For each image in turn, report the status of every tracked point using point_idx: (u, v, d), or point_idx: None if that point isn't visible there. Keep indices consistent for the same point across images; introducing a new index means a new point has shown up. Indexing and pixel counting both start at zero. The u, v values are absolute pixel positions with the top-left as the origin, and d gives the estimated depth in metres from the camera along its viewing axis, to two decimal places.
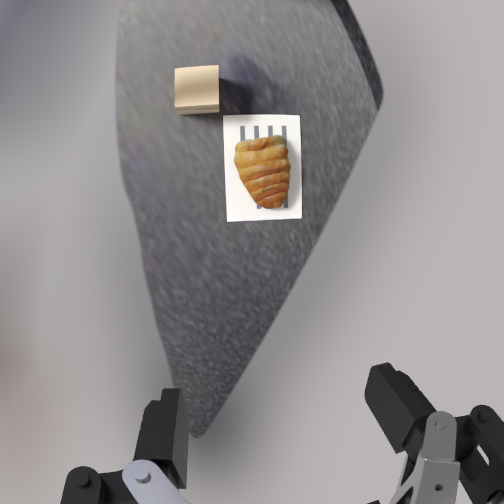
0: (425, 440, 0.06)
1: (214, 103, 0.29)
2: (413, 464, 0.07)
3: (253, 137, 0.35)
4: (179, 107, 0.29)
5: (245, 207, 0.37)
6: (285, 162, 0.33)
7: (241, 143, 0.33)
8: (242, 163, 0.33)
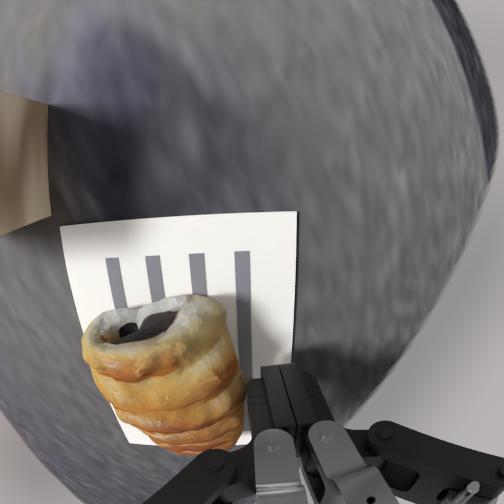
0: (320, 459, 0.06)
1: None
2: (316, 476, 0.07)
3: (147, 292, 0.12)
4: None
5: None
6: (225, 405, 0.10)
7: (86, 346, 0.09)
8: None
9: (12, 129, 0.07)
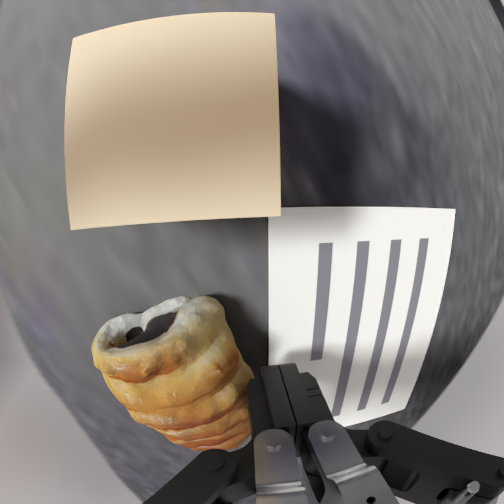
0: (320, 459, 0.06)
1: (258, 211, 0.06)
2: (316, 476, 0.07)
3: (352, 275, 0.12)
4: None
5: None
6: (230, 397, 0.10)
7: (95, 353, 0.10)
8: None
9: None
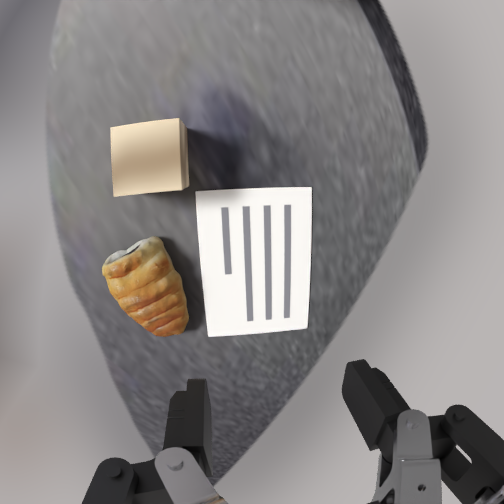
0: (398, 441, 0.06)
1: (174, 189, 0.19)
2: (388, 463, 0.07)
3: (241, 224, 0.25)
4: None
5: (231, 320, 0.27)
6: (164, 283, 0.23)
7: (103, 267, 0.22)
8: (113, 293, 0.23)
9: (183, 140, 0.20)
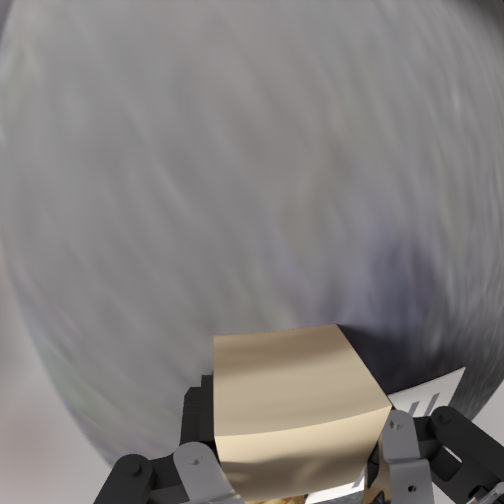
0: (384, 442, 0.07)
1: (345, 483, 0.08)
2: (375, 464, 0.07)
3: None
4: None
5: (335, 491, 0.17)
6: None
7: None
8: None
9: None
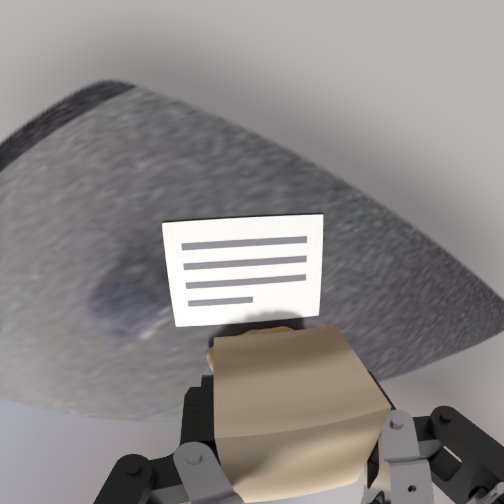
0: (383, 442, 0.07)
1: (344, 483, 0.08)
2: (375, 464, 0.07)
3: (203, 289, 0.26)
4: None
5: (302, 295, 0.27)
6: None
7: None
8: None
9: None
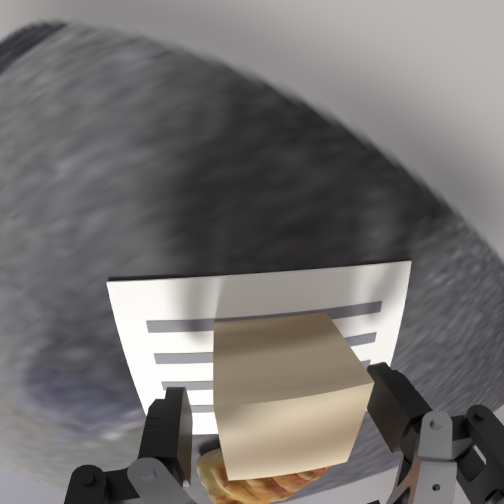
0: (421, 440, 0.06)
1: (336, 462, 0.09)
2: (409, 464, 0.07)
3: (194, 391, 0.13)
4: None
5: None
6: (251, 480, 0.12)
7: None
8: None
9: None
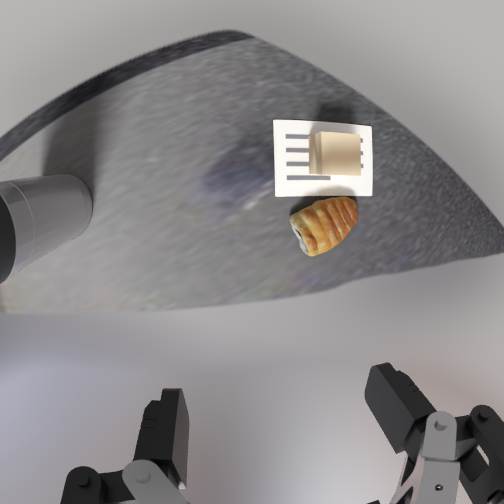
0: (425, 440, 0.06)
1: (357, 174, 0.32)
2: (413, 464, 0.07)
3: (298, 167, 0.36)
4: (325, 174, 0.32)
5: (361, 178, 0.37)
6: (320, 211, 0.35)
7: (310, 254, 0.37)
8: (327, 248, 0.37)
9: None
